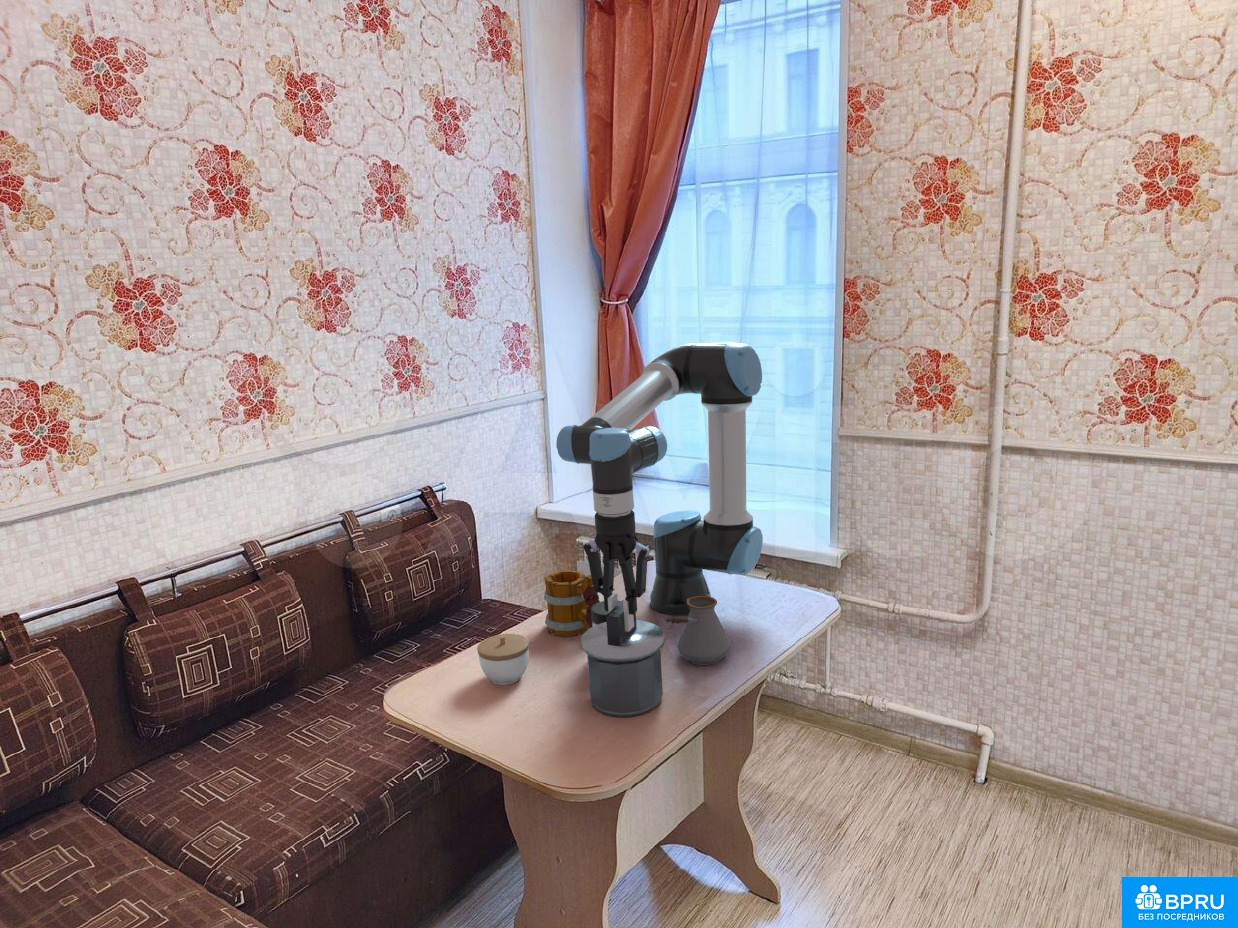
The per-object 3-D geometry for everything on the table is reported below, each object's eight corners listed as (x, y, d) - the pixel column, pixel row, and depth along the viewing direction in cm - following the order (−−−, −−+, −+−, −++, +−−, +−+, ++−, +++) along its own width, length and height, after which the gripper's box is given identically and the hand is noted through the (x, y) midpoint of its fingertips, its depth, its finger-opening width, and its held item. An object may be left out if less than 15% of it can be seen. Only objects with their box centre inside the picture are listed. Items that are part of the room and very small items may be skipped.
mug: (569, 613, 206) (564, 556, 202) (617, 630, 195) (613, 570, 191) (536, 628, 198) (531, 569, 195) (583, 647, 187) (579, 585, 184)
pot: (621, 666, 177) (618, 619, 174) (676, 699, 162) (673, 648, 159) (565, 688, 169) (561, 639, 166) (618, 725, 154) (614, 671, 152)
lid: (604, 625, 171) (601, 588, 170) (676, 635, 165) (674, 596, 163) (567, 659, 157) (564, 619, 156) (645, 671, 151) (642, 630, 149)
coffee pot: (692, 641, 187) (690, 578, 183) (739, 651, 181) (737, 586, 177) (644, 683, 169) (640, 615, 166) (694, 695, 163) (691, 625, 160)
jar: (605, 671, 175) (602, 618, 172) (586, 657, 182) (582, 607, 179) (640, 658, 180) (637, 607, 177) (619, 645, 187) (616, 596, 184)
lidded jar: (540, 668, 178) (536, 628, 176) (518, 693, 168) (514, 650, 166) (495, 663, 182) (491, 624, 180) (471, 687, 172) (467, 646, 170)
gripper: (568, 514, 155) (577, 630, 160) (645, 520, 148) (651, 641, 154) (586, 503, 161) (594, 615, 167) (660, 508, 155) (666, 624, 160)
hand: (622, 627), depth 160 cm, fingers closed on lid, 2 cm apart
